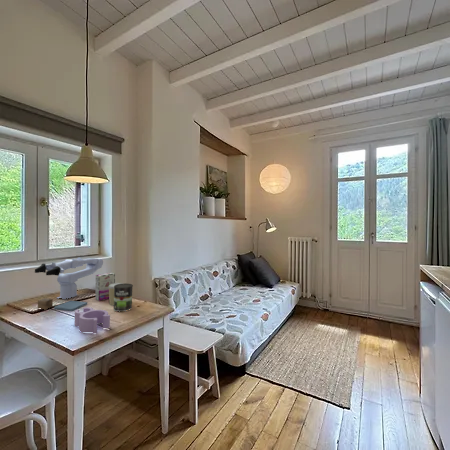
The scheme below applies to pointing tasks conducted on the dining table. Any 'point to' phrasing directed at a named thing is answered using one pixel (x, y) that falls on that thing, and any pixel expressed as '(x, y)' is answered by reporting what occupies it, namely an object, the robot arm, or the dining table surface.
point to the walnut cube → (45, 303)
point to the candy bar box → (104, 285)
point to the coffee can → (122, 297)
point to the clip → (91, 319)
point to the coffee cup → (112, 293)
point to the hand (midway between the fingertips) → (40, 272)
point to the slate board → (70, 305)
